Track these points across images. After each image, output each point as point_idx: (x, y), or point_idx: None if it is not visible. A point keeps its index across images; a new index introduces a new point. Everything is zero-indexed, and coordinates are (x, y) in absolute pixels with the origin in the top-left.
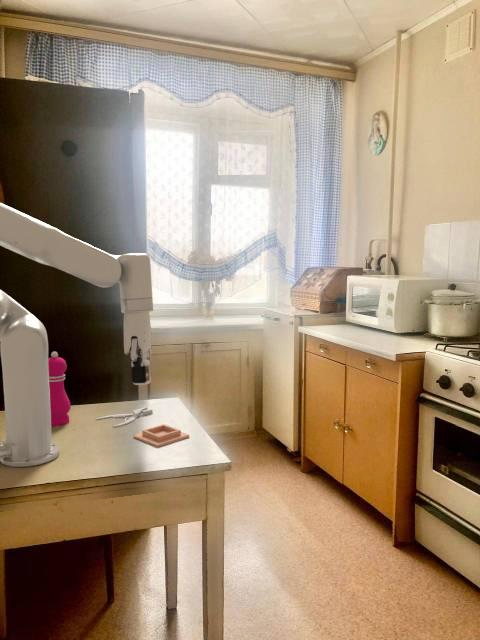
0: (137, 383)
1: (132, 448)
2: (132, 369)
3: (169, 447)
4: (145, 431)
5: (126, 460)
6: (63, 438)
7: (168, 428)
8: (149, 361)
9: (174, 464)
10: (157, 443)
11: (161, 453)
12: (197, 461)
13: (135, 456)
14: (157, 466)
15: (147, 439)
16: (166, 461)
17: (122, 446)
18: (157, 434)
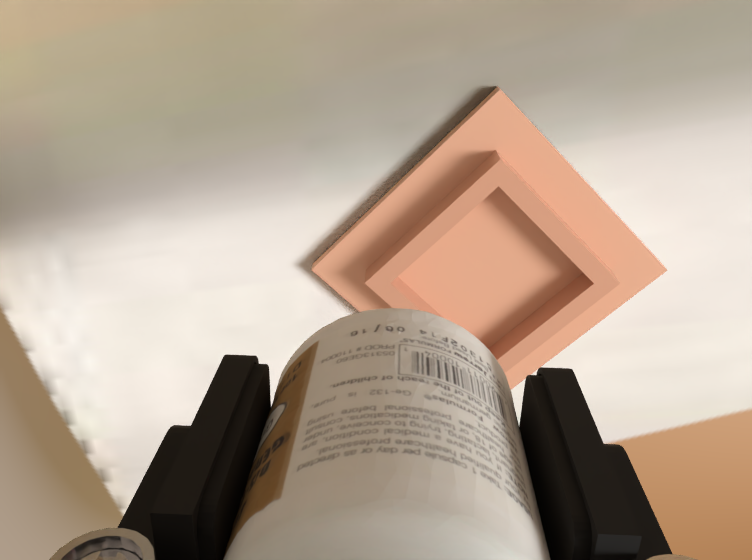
0: (277, 386)
1: (290, 118)
2: (169, 486)
3: (316, 324)
4: (475, 186)
5: (94, 121)
6: None
7: (548, 313)
8: None
9: (88, 369)
10: (335, 266)
11: (223, 294)
12: (141, 457)
13: (162, 162)
14: (47, 297)
15: (405, 198)
16: (118, 330)
17: (323, 43)
18: (499, 245)
